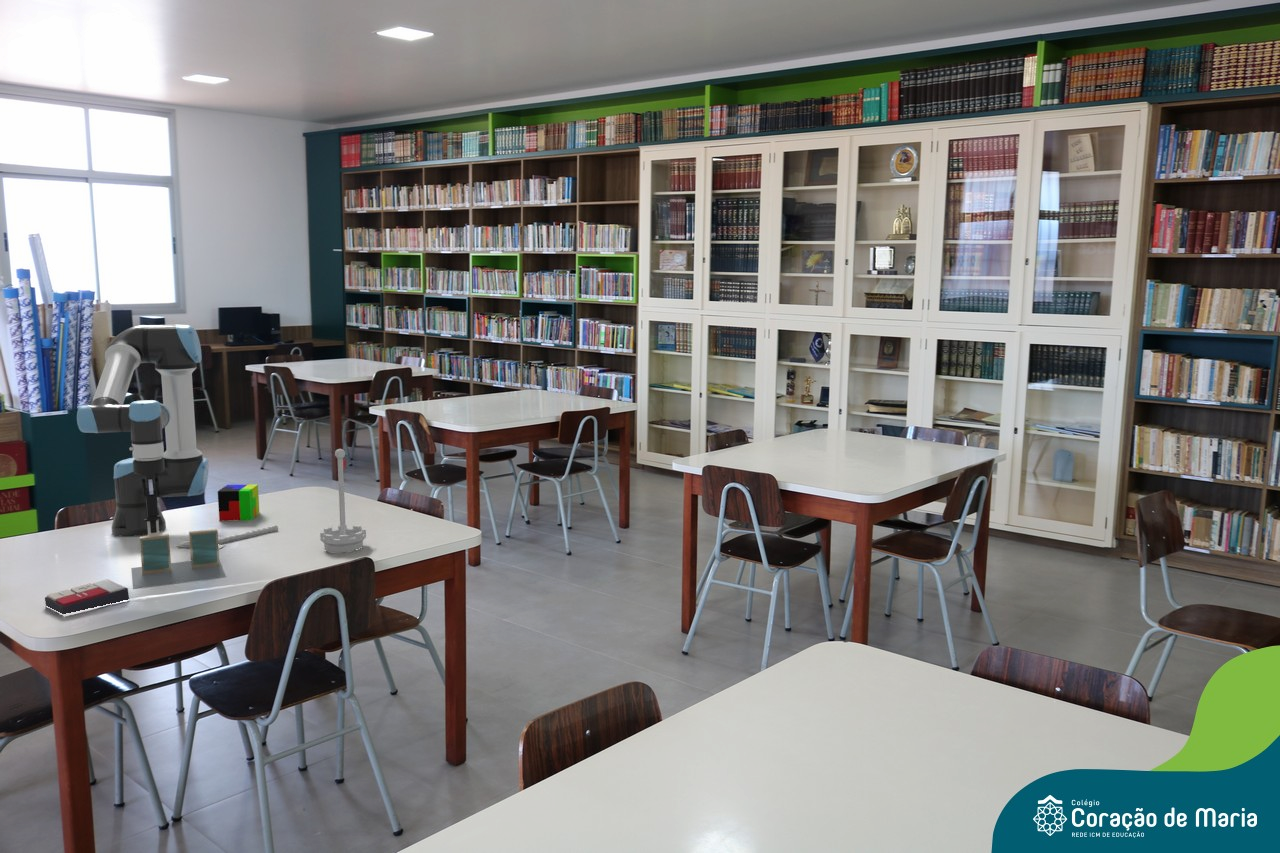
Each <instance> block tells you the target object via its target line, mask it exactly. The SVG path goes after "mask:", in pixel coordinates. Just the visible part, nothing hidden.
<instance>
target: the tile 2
mask: <svg viewBox="0 0 1280 853" xmlns="http://www.w3.org/2000/svg"><path fill="white" fill-rule="evenodd" d="M188 533H189V534H188V536H189V537H188V538H189V542H190V548H189V550H190V552H189V553H190V561H191V568H200V567H208V566H216V565H219V560H220V551H219V550H220V549H219V548H218V538H219V535H218V528H209V529H201V530H191V531H188Z"/></svg>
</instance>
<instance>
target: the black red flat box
mask: <svg viewBox="0 0 1280 853" xmlns="http://www.w3.org/2000/svg"><path fill="white" fill-rule="evenodd" d="M128 599H129V600H130V596H129V588H127V587H126V586H123V585H121V584H119V583H117V582H115V581H112V580H111V579H104V580H100V581H95V582H93V583H86V584H83V585H79V586H75V587H72V588H70V589H64V590H60V591H57V592H53V593H49V594H47V595H46V596H45V597H44V602H45V607H46V606H48V607H50V608H52V609H54V610H56V611H58V612H60V613H62V614H66V613H71V612H76V611H80V610H85V609H88V608H94V607H97V606H103V605H106V604H110V603H111V604H112V603H116V602H120V601H123V600H128Z"/></svg>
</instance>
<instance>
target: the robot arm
mask: <svg viewBox="0 0 1280 853" xmlns="http://www.w3.org/2000/svg"><path fill="white" fill-rule="evenodd" d="M201 346H202V345H201V341H200V338H199V336H198V332H197V330H196V328H195V327H193V326H192V325H188V324H148V325H147V324H139V325H134V326H132V327H129V328H126V329H125V330H124V331H121V332H120V333H119V334H117V335H116V336H115V337H114V338H113V339H112V340H110V342H109V344H108V345H107V346H106V349H105V353H104V359H105V363H104V367H103V369H102V370H103V371H102V373H101V375H100V378H99V382H98V384H97V386H96V387H97V388H96V390H95V393H94V395H93V399H92V401H91V404H87V405H81V406H79V407H78V409H77V412H76V422H77V427H78V429H79V431H80V432H82V433H85V434H86V433H90V434H91V433H92V434H93V433H94V434H104V433H105V434H106V433H129V432H130V441H131V446H130V447H129V451H130V452H131V451H132V452H131V453H132V457H129V458H126V459H122V460H119V461H118V462H116V463H115V464H114V466H113V482H114V493H115V505H116V510H115V513H114V516H113V521H112V524H111V534H112V535H114V536H117V537H144V536H153V535H160V532H162V531H164V530H166V529H167V524H166V519H165V517H164V514H163V513H162V510H161V508H160V506H159V500H158V498H167V497H168V498H171V497H172V498H173V497H191V496H199V495H203V494H204V493H205V491H206V488H207V484H208V477H209V468H210V467H209V466H210V465H209V460H208V459H207V458H206V457H203V452H202V451H201V450H200V449H198V446H197V436H196V435H197V433H196V419H195V418H196V417H195V402H194V390H193V389H194V388H193V386H194V385H193V375H192V374H193V372H194V371H196V369H198V368H197V364H198V363H200V362H202V358H203V357H202V356H203V355H202V348H201ZM144 363H145V364H154V369H155V370H156V371H157V372H158V373H159V374H160V376H161V388H162V402H159V400H153V399H150V400H147V399H145V400H143V399H142V400H136V401H132V402H131V403H129V404H124V402H125V399H126V397H127V393H128V391H129V390H128V389H129V387H130V385H131V381H132V377H133V374H134V371H135V369H137V368H139V367H140V364H144ZM163 429H164V432H165V445H166V450H165V449H164V448H165V447H164V441H163V440H164V439H163ZM164 450H165V451H164Z"/></svg>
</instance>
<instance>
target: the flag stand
mask: <svg viewBox="0 0 1280 853" xmlns="http://www.w3.org/2000/svg"><path fill="white" fill-rule="evenodd" d="M334 452H335V453H334V457H336V459H337V478H338V480H337V482H338V501H339V503H338V504H339V505H338V506H339V525H337V529H333V527H331V526H328V527H324V528H323V530H320V531H319V540H320V541H321V542H322V543H323V544H324V545H323V546H324V548H323V549H324V551H325V550H326V551H325V552H327V551H328V552H327V553H332V552H336V553H335V554H340V553H339V552H346V553H350V552H349V551H353V550H356V549H359V548H361V547H362V546H363V547H364V540H365V539H366V538H367V529H366V527H362V526H361V525H359V524H357V525H356V524H354V525H352V528H348V526H347V524H346V508H345V506H346V505H345V504H346V503H345V502H346V501H345V476H344V475H345V474H344V469H345V467H346V466H347V464H348V462H347V461H345V460H344V458H345V456H346V451H345V450H344V449H342V448H338V449H336V450H335V451H334ZM363 547H362V548H363ZM362 548H361V549H362ZM359 550H360V549H359ZM353 552H354V551H353Z"/></svg>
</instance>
